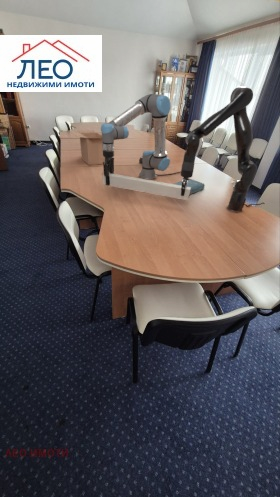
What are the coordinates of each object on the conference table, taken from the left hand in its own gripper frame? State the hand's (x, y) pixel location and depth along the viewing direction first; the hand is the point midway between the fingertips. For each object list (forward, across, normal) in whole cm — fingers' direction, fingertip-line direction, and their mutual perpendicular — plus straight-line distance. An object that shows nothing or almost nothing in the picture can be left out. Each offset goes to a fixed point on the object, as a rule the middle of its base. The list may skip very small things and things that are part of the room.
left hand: (109, 183), depth 163 cm
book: (+10, +39, -54) cm, 68 cm away
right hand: (-2, 0, -55) cm, 55 cm away
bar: (+1, 0, -27) cm, 27 cm away
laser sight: (+10, +93, -4) cm, 94 cm away
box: (+9, +74, +53) cm, 91 cm away
